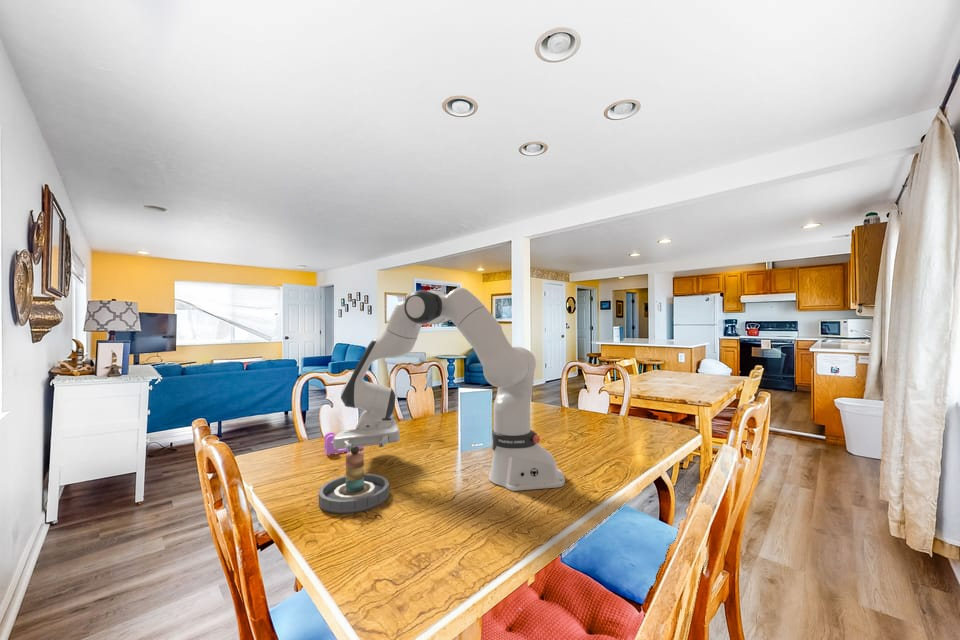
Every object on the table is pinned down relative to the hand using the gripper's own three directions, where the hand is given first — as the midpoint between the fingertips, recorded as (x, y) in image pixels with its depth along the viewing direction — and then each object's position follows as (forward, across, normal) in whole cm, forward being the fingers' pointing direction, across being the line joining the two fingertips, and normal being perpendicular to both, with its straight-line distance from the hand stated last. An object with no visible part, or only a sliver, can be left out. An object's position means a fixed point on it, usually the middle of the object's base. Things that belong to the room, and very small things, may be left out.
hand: (365, 446), depth 118 cm
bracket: (-29, -11, +12) cm, 33 cm away
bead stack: (+13, -2, +8) cm, 15 cm away
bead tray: (+13, -2, +9) cm, 16 cm away
